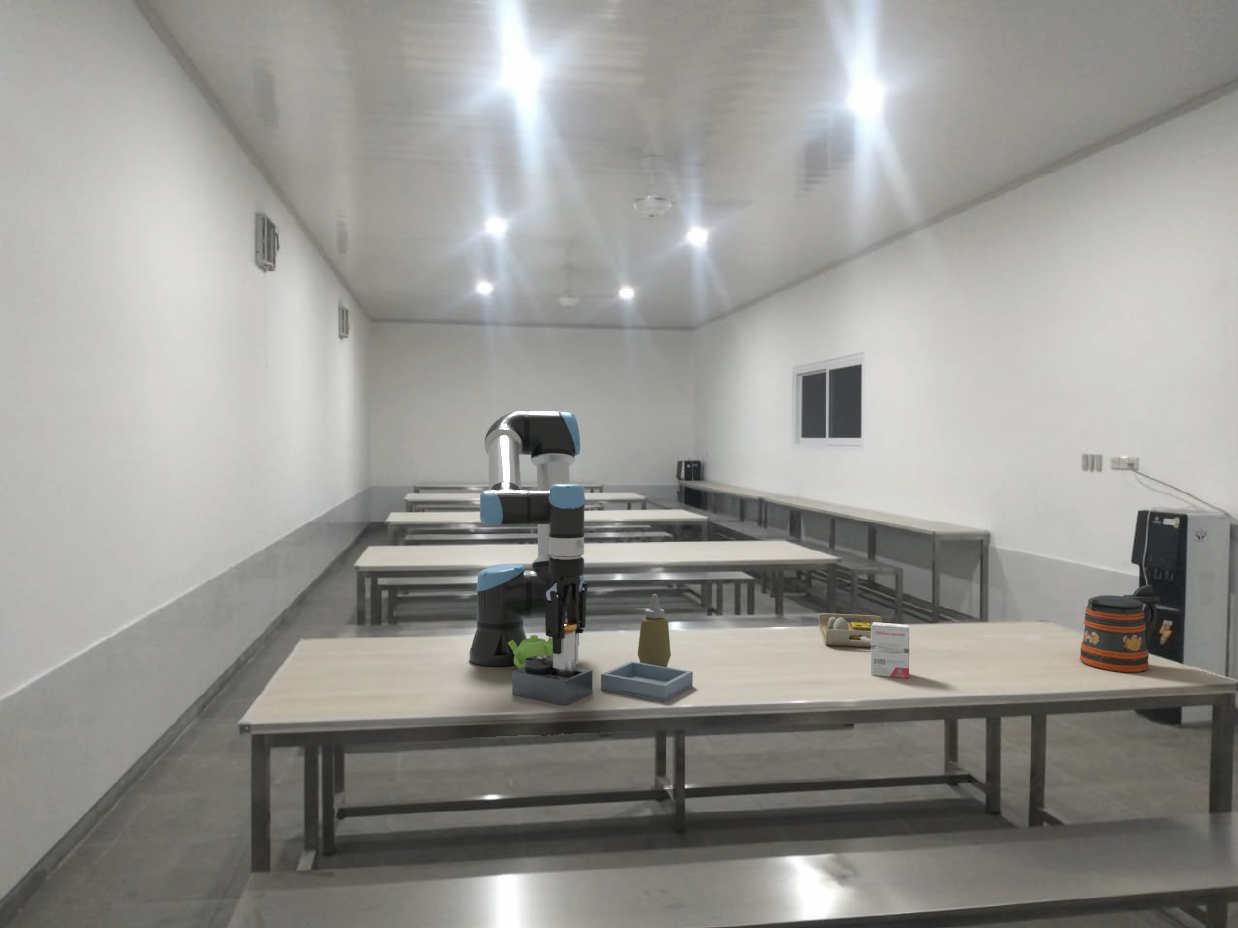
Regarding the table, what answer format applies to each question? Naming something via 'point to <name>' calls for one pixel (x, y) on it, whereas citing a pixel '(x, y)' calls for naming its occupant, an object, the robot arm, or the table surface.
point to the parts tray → (647, 680)
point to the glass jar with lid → (569, 651)
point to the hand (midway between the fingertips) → (565, 665)
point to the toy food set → (847, 629)
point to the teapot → (530, 649)
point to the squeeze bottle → (654, 636)
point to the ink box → (890, 650)
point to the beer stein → (1119, 631)
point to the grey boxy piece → (550, 682)
